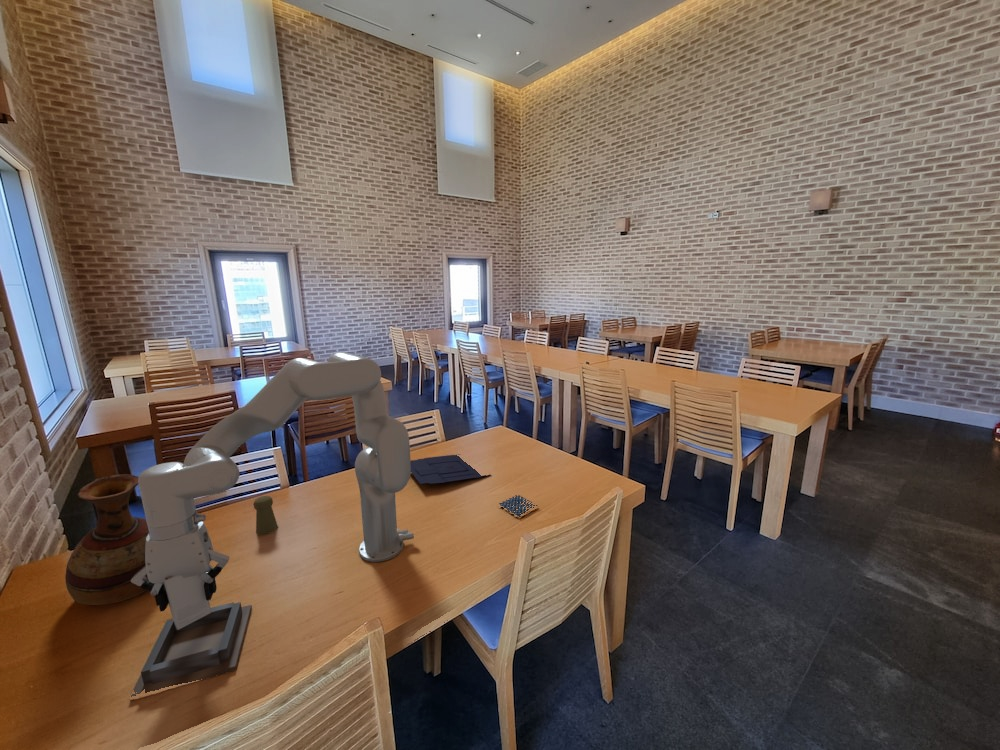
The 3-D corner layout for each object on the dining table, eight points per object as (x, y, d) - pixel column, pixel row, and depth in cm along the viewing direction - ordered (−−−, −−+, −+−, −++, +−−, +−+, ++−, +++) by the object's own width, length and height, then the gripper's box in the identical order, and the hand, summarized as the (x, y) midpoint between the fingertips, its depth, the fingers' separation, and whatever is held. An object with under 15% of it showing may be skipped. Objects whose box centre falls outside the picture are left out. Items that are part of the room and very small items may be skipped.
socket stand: (251, 608, 96) (249, 594, 95) (235, 670, 81) (233, 654, 80) (165, 629, 90) (161, 615, 89) (130, 701, 75) (125, 684, 74)
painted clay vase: (86, 629, 90) (53, 511, 83) (61, 593, 100) (30, 485, 94) (188, 577, 106) (168, 474, 99) (157, 550, 117) (137, 455, 110)
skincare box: (206, 603, 87) (197, 555, 85) (212, 614, 85) (203, 564, 82) (170, 620, 83) (160, 570, 80) (176, 632, 80) (165, 581, 77)
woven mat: (518, 521, 133) (518, 516, 132) (497, 508, 140) (497, 503, 140) (539, 510, 140) (539, 505, 139) (518, 498, 147) (518, 493, 147)
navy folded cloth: (401, 467, 168) (401, 458, 167) (465, 459, 183) (465, 452, 183) (421, 492, 147) (422, 483, 147) (491, 481, 163) (492, 473, 163)
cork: (268, 536, 123) (263, 504, 121) (251, 533, 125) (246, 502, 122) (282, 524, 129) (278, 494, 127) (266, 522, 130) (261, 492, 128)
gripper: (229, 506, 85) (241, 577, 89) (126, 523, 79) (143, 599, 83) (220, 526, 79) (233, 602, 83) (107, 546, 72) (126, 627, 76)
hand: (188, 600), depth 83 cm, fingers closed on skincare box, 7 cm apart
